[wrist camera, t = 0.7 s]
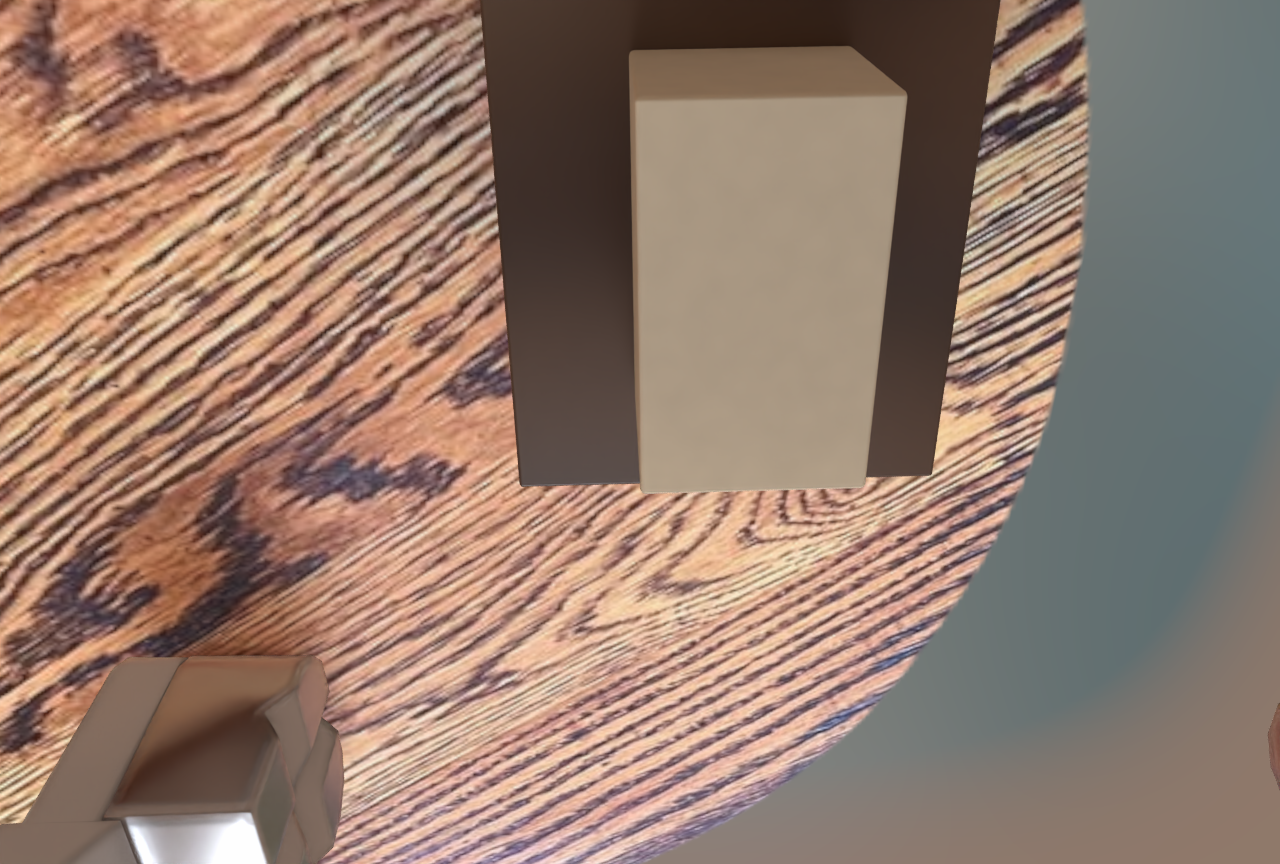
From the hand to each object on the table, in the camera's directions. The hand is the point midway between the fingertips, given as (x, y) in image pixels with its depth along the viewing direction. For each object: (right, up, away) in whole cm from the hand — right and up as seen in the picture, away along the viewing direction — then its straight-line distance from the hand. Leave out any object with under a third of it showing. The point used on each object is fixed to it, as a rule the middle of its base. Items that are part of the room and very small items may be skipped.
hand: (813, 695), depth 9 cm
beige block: (0, +6, +9) cm, 11 cm away
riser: (0, +12, +21) cm, 25 cm away
